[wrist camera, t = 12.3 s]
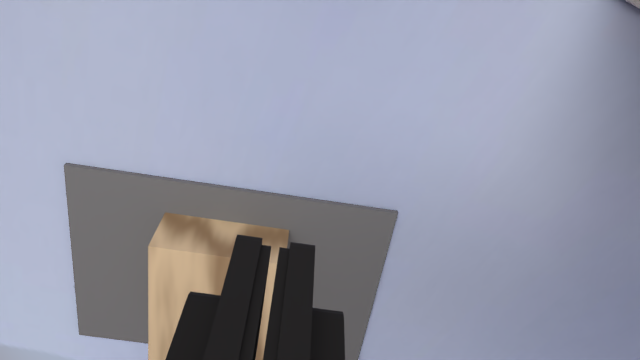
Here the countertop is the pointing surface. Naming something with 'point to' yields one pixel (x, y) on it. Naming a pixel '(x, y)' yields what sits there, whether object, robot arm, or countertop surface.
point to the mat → (220, 204)
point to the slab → (197, 270)
